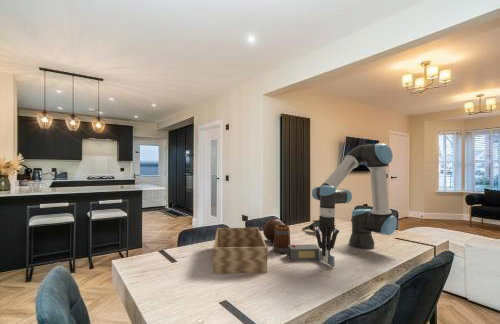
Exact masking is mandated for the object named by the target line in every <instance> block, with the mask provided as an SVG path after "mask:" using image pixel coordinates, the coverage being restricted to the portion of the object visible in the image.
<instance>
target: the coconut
mask: <svg viewBox="0 0 500 324" xmlns="http://www.w3.org/2000/svg"><path fill="white" fill-rule="evenodd" d="M282 224H284V223H283V221H281V220H280V219H275V218H272V219H269V220H268V221H266V222H265V224H264V226H263V228H262V229H263V231H262V233H263V235H264V237H265V239H266V240H267V241H269V242H272V243H274V237H275V226H276V225H282Z"/></svg>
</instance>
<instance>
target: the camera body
mask: <svg viewBox="0 0 500 324" xmlns="http://www.w3.org/2000/svg"><path fill="white" fill-rule="evenodd" d="M319 249H321V248H319V247H318V244H313V243H312V244H309V243H308V244H290V245H288V248H286V256H287V257H288V256H289V257H288V258H289V259H290V261H292V262H293V261H319V260H318V257H319Z"/></svg>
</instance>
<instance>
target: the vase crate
mask: <svg viewBox="0 0 500 324" xmlns="http://www.w3.org/2000/svg"><path fill="white" fill-rule="evenodd" d="M212 250H213V253H212V256H213V257H212V261H213V263H212V274H214V275H216V274H217V275H218V274H219V275H220V274H223V275H224V274H254V273H255V274H257V273H259V274H261V273H268V246H267V243H266V242H265V239H264V237H263V235H262V232H261V231H260V229H259V227H217V228H216V232H215V237H214V244H213V249H212Z"/></svg>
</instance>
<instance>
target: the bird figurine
mask: <svg viewBox="0 0 500 324" xmlns="http://www.w3.org/2000/svg"><path fill="white" fill-rule="evenodd" d="M318 226H319V219H317V220H315V221H313V222H312V223H310V224H309V225H307V226H304V227H303V228H302V231H307V230H309V231H312V232H313V233H315V231H314V229H317V228H318Z"/></svg>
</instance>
